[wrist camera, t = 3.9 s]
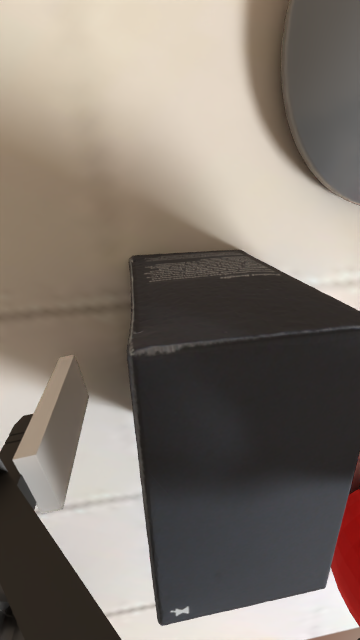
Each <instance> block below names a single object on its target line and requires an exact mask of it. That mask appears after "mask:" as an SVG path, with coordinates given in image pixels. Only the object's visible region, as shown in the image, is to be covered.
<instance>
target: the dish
mask: <svg viewBox="0 0 360 640" xmlns="http://www.w3.org/2000/svg"><path fill="white" fill-rule="evenodd" d="M281 80H282V94H283V101H284V106H285V112H286V117H287V121H288V124H289V127H290V130H291V134H292V137H293V139H294V142H295V144H296V146H297V148H298V151H299V153H300V155H301V157H302V158H303V160H304V161H305V163H306V165H307V166H308V168H309V169H310V171H311V172H312V173H313V174H314V175H315V176H316V178H317V179H318V180H319V181H320V182H321V183H322V184H323V185H324V186H325V187H327V188H328V189H329V190H330V191H331V192H333V193H334V194H336V195H338V196H339V197H341V198H343V199H344V200H346V201H349V202H351V203H354V204H357V205H359V206H360V0H289V4H288V8H287V13H286V17H285V24H284V32H283V40H282V52H281Z"/></svg>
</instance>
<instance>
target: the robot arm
mask: <svg viewBox="0 0 360 640" xmlns="http://www.w3.org/2000/svg"><path fill="white" fill-rule="evenodd" d="M88 399H89V395H88V392H87V389H86V386H85V383H84V380H83V378H82V375H81V372H80V369H79V366H78V363H77V361H76V358H75V355H69V356H64V357H60V358H59V360H58V362H57V364H56V367H55V369H54V371H53V373H52V375H51V377H50V380H49V382H48V384H47V386H46V388H45V390H44V393H43V395H42V397H41V399H40V401H39V403H38V406H37V408H36V410H35V412H34V414H30V415H25V416H23V417H22V418H21V419H20V420H19V421H18V422H17V423H16V424H15V425H14V427H13V429H12V430H11V432H10V434H9V437H8V438H7V440H6V442H5V445H4V446H3V448H2V450H1V452H0V640H121V638H120V637H119V635H118V634H117V632H116V631H115V629H114V628H113V626H112V625H111V623H110V622H109V620H108V619H107V618H106V616H105V615H104V613H103V612H102V610H101V609H100V607H99V606H98V604H97V603H96V601H95V600H94V598H93V597H92V595H91V594H90V592H89V591H88V589H87V588H86V587H85V585H84V584H83V582H82V581H81V579H80V578H79V576H78V575H77V573H76V572H75V570H74V569H73V567H72V566H71V564H70V563H69V561H68V560H67V558H66V557H65V556H64V554H63V553H62V551H61V550H60V548H59V547H58V545H57V544H56V542H55V541H54V539H53V538H52V536H51V535H50V533H49V532H48V530H47V529H46V528H45V526H44V525H43V523H42V522H41V520H40V519H39V517H38V516H37V514H36V513H35V511H34V509H35V506H36V505H37V507H38V508H39V510H40V512H41V514H45V513H49V512H53V511H58V510H62V509H63V506H64V502H65V498H66V493H67V489H68V485H69V480H70V476H71V472H72V468H73V463H74V459H75V455H76V450H77V446H78V442H79V437H80V433H81V429H82V424H83V420H84V416H85V412H86V407H87V403H88ZM358 640H360V638H359V639H358Z"/></svg>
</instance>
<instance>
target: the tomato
mask: <svg viewBox="0 0 360 640" xmlns="http://www.w3.org/2000/svg"><path fill="white" fill-rule="evenodd" d="M331 569H332V572H333V575H334V578H335V581H336V584H337V586H338V589H339V592H340V593H341V595H342V597H343V599H344V601H345V603H346V605H347V607H348V609H349V611H350V613H351V614H352V616H353V617H354V619H355V620H356V622H357V624H358V625H359V627H360V489H357V490H356V491H354V492H352V493H351V494H349V496H348V499H347V503H346V507H345V511H344V515H343V519H342V523H341V527H340V531H339V535H338V539H337V543H336V547H335V551H334V556H333V560H332V564H331Z"/></svg>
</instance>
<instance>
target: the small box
mask: <svg viewBox="0 0 360 640" xmlns="http://www.w3.org/2000/svg"><path fill="white" fill-rule="evenodd" d="M129 268H130V281H131V306H132V308H131V312H132V313H131V324H130V334H129V339H128V345H127V361H128V368H129V379H130V388H131V397H132V406H133V416H134V425H135V434H136V441H137V449H138V460H139V468H140V478H141V485H142V494H143V504H144V512H145V519H146V529H147V537H148V544H149V553H150V562H151V571H152V580H153V588H154V595H155V602H156V611H157V619H158V622H159V624H160V625H161V626H164V625H168V624H171V623H176V622H180V621H185V620H190V619H193V618H198V617H202V616H207V615H211V614H215V613H219V612H224V611H229V610H233V609H238V608H242V607H247V606H251V605H255V604H259V603H263V602H266V601H273V600H277V599H281V598H286V597H290V596H294V595H298V594H304V593H307V592H311V591H316V590H320V589H324V588H325V587H326V584H327V579H328V575H329V571H330V567H331V564H332V560H333V556H334V551H335V547H336V543H337V539H338V535H339V531H340V527H341V523H342V519H343V515H344V511H345V507H346V503H347V499H348V496H349V492H350V488H351V484H352V480H353V476H354V472H355V468H356V464H357V460H358V456H359V452H360V311H358V310H356V309H354V308H352V307H350V306H349V305H346V304H344V303H342V302H341V301H339V300H337V299H335V298H333V297H331V296H329V295H326V294H324V293H322V292H321V291H319V290H317V289H315V288H313V287H311V286H309V285H307V284H305V283H303V282H301V281H299V280H297V279H295V278H293V277H291V276H289V275H287V274H285V273H283V272H281V271H279V270H278V269H276V268H274V267H272V266H270V265H268V264H266V263H264V262H262V261H260V260H258V259H256V258H254V257H252V256H250V255H248V254H247V253H245V252H244V251H242V250H227V251H210V252H188V253H173V254H154V255H137V256H132V257H131V258H130V259H129Z"/></svg>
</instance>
